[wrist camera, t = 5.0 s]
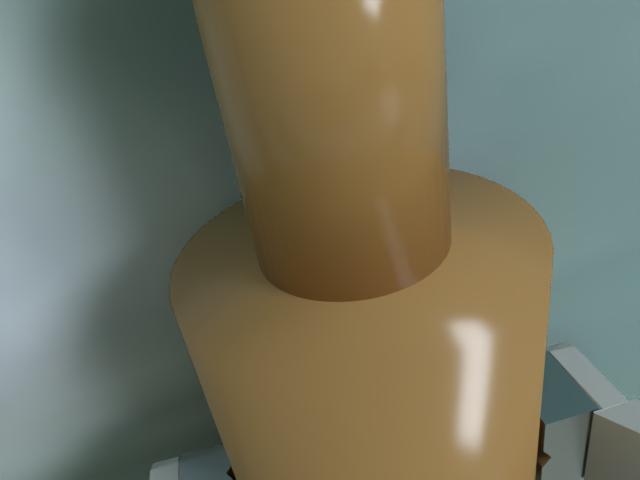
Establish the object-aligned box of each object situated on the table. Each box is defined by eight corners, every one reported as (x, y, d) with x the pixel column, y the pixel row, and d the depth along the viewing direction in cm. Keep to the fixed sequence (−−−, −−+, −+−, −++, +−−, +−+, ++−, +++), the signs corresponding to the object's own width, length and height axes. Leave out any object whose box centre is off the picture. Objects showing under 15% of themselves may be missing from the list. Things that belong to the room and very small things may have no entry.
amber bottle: (680, -309, 5) (320, -519, 2) (551, 623, 13) (454, 859, 10) (275, -176, 8) (-111, -167, 5) (383, 514, 17) (271, 673, 13)
